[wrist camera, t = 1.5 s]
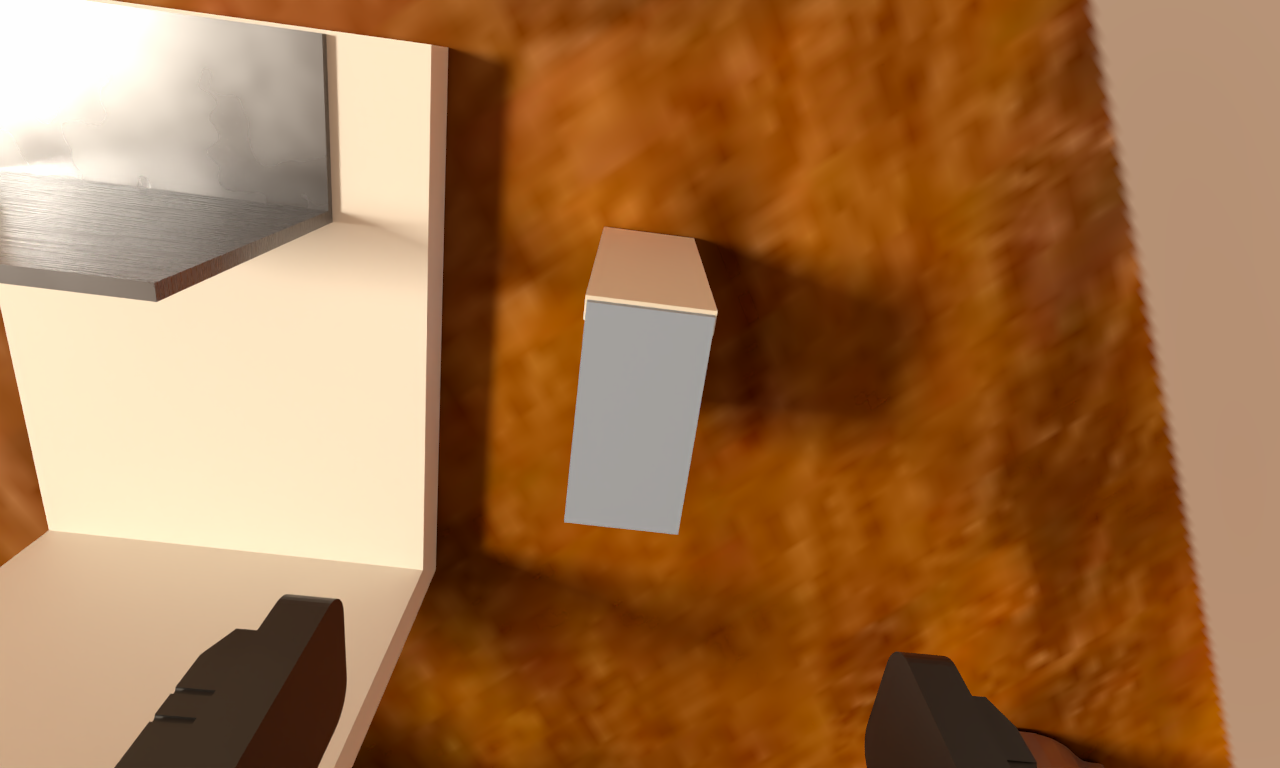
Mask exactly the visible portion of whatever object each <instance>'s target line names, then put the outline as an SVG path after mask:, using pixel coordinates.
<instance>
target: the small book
mask: <svg viewBox="0 0 1280 768" xmlns="http://www.w3.org/2000/svg"><path fill="white" fill-rule="evenodd" d="M717 313H718V311H717V308H716V304H715V301H714V298H713V295H712V292H711V289H710V286H709V283H708V280H707V277H706V274H705V270H704V267H703V264H702V261H701V258H700V255H699V252H698V249H697V246H696V243H695V240H694V238H688V237H680V236H673V235H665V234H657V233H649V232H642V231H634V230H626V229H618V228H611V227H604V229H603V233H602V236H601V240H600V244H599V247H598V251H597V255H596V259H595V262H594V266H593V270H592V273H591V277H590V281H589V284H588V288H587V292H586V297H585V306H584V316H583V320H585V324H584V334H583V343H582V353H581V363H580V373H579V382H578V392H577V402H576V411H575V421H574V431H573V441H572V450H571V460H570V470H569V480H568V489H567V499H566V509H565V518H564V522H568V523H577V524H586V525H595V526H604V527H613V528H622V529H631V530H640V531H649V532H658V533H667V534H677V535H678V531H679V525H680V519H681V514H682V508H683V502H684V496H685V491H686V485H687V479H688V474H689V468H690V462H691V456H692V451H693V445H694V439H695V433H696V428H697V422H698V416H699V410H700V405H701V399H702V393H703V388H704V382H705V376H706V370H707V365H708V359H709V353H710V347H711V342H712V336H713V335H714V330H715V324H716V318H717Z"/></svg>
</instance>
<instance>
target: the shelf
mask: <svg viewBox="0 0 1280 768" xmlns="http://www.w3.org/2000/svg"><path fill="white" fill-rule="evenodd" d="M84 1H91V2H99V3H106V4H113V5H120V6H128V7H135V8H142V9H149V10H157V11H164V12H171V13H178V14H185V15H193V16H200V17H207V18H214V19H222V20H229V21H236V22H243V23H251V24H258V25H265V26H272V27H280V28H287V29H294V30H301V31H309V32H316V33H323V34H326V42H327V72H328V101H329V130H330V159H331V188H332V218H333V222H332V223H330V224H328V225H325V226H323V227H321V228H319V229H317V230H314V231H312V232H310V233H308V234H306V235H303V236H301V237H299V238H297V239H295V240H292V241H290V242H288V243H286V244H284V245H281V246H279V247H277V248H275V249H273V250H270V251H268V252H266V253H264V254H262V255H259V256H257V257H255V258H253V259H251V260H248V261H246V262H244V263H242V264H240V265H237V266H235V267H233V268H231V269H229V270H226V271H224V272H222V273H220V274H218V275H215V276H213V277H211V278H209V279H207V280H204V281H202V282H200V283H198V284H195V285H193V286H191V287H189V288H187V289H184V290H182V291H180V292H178V293H176V294H173V295H171V296H169V297H167V298H165V299H162V300H160V301H158V302H152V301H143V300H135V299H127V298H119V297H110V296H102V295H94V294H85V293H77V292H69V291H61V290H52V289H44V288H36V287H27V286H19V285H11V284H3V283H0V306H1V311H2V316H3V320H4V325H5V330H6V334H7V339H8V343H9V348H10V353H11V357H12V362H13V366H14V371H15V376H16V380H17V385H18V389H19V394H20V399H21V403H22V408H23V412H24V417H25V422H26V426H27V431H28V435H29V440H30V445H31V449H32V454H33V458H34V463H35V468H36V472H37V477H38V481H39V486H40V491H41V495H42V500H43V504H44V509H45V514H46V518H47V523H48V527H49V531H47V532H46V533H45V534H44V535H42V536H41V537H40V538H38V539H37V540H36V541H34V542H33V543H32V544H30V545H29V546H28V547H26V548H25V549H24V550H22V551H21V552H20V553H18V554H17V555H16V556H14V557H13V558H12V559H10V560H9V561H8V562H6V563H5V564H4V565H2V566H1V567H0V768H114V767H115V766H116V765H117V763H118V762H119V761H120V759H121V758H122V757H123V755H124V754H125V753H126V751H127V750H128V749H129V748H130V746H131V745H132V744H133V742H134V741H135V740H136V738H137V737H138V736H139V734H140V733H141V732H142V730H143V729H144V728H145V726H146V725H147V724H148V723H149V722H152V721H153V720H154V717H155V713H156V712H157V711H158V709H159V708H160V707H161V705H162V704H163V703H164V701H165V700H166V699H167V698H168V696H169V695H170V694H174V692H175V688H176V686H177V684H178V683H179V682H180V680H181V679H182V678H183V676H184V675H185V674H186V673H187V671H188V670H189V669H190V667H191V666H192V665H193V663H194V662H195V661H196V659H197V658H198V657H199V655H200V654H202V653H203V652H204V651H206V650H207V649H209V648H210V647H211V646H213V645H214V644H216V643H217V642H218V641H220V640H221V639H223V638H224V637H225V636H227V635H228V634H229V633H231V632H232V631H234V630H235V629H236V628H237V629H248V630H258V628H259V627H260V625H261V624H262V623H263V621H264V620H265V618H266V617H267V615H268V614H269V612H270V611H271V610H272V608H273V607H274V605H275V604H276V602H277V601H278V600H279V599H280V598H281V597H282V596H283V595H285V594H293V595H304V596H315V597H325V598H336V599H340V600H341V601H342V604H343V608H344V626H345V648H346V669H347V687H346V695H345V701H344V705H343V709H342V713H341V716H340V719H339V722H338V725H337V727H336V729H335V732H334V734H333V736H332V738H331V740H330V742H329V744H328V747H327V749H326V751H325V753H324V755H323V757H322V760H321V762H320V764H319V766H318V768H352V766H353V764H354V761H355V759H356V757H357V754H358V752H359V750H360V747H361V745H362V743H363V740H364V738H365V736H366V733H367V731H368V728H369V726H370V724H371V721H372V719H373V717H374V714H375V712H376V710H377V707H378V705H379V703H380V700H381V698H382V695H383V693H384V691H385V688H386V686H387V684H388V681H389V679H390V677H391V674H392V672H393V670H394V667H395V665H396V663H397V660H398V658H399V655H400V653H401V651H402V648H403V646H404V644H405V641H406V639H407V637H408V634H409V632H410V630H411V627H412V625H413V622H414V620H415V618H416V615H417V613H418V611H419V608H420V606H421V604H422V601H423V599H424V597H425V594H426V592H427V589H428V587H429V585H430V582H431V580H432V578H433V575H434V573H435V571H436V544H437V502H438V460H439V419H440V377H441V335H442V294H443V252H444V210H445V169H446V127H447V85H448V47H442V46H436V45H430V44H423V43H415V42H408V41H401V40H394V39H386V38H379V37H372V36H365V35H358V34H350V33H343V32H336V31H329V30H321V29H314V28H307V27H300V26H292V25H285V24H278V23H271V22H264V21H256V20H249V19H242V18H235V17H227V16H220V15H213V14H206V13H199V12H191V11H184V10H177V9H170V8H162V7H155V6H148V5H141V4H133V3H126V2H119V1H112V0H84Z"/></svg>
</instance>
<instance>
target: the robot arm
mask: <svg viewBox="0 0 1280 768" xmlns="http://www.w3.org/2000/svg"><path fill="white" fill-rule="evenodd" d="M346 687H347V669H346V648H345V626H344V608H343V604H342V601H341V600H340V599H336V598H325V597H315V596H304V595H293V594H285V595H283V596H282V597H281V598H280V599H279V600H278V601H277V602H276V604H275V605H274V607H273V608H272V610H271V611H270V612H269V614H268V615H267V617H266V618H265V620H264V621H263V623H262V624H261V625H260V627H259V628H258V630H248V629H237V628H236V629H235V630H234V631H232V632H231V633H229V634H228V635H227V636H225V637H224V638H223V639H221V640H220V641H218V642H217V643H216V644H214V645H213V646H211V647H210V648H209V649H207V650H206V651H204V652H203V653H202V654H200V655H199V657H198V658H197V659H196V661H195V662H194V663H193V665H192V666H191V667H190V669H189V670H188V671H187V673H186V674H185V675H184V676H183V678H182V679H181V680H180V682H179V683H178V684H177V686H176V688H175V692H174V694H170V695H169V696H168V698H167V699H166V700H165V701H164V703H163V704H162V705H161V707H160V708H159V709H158V711H157V712H156V713H155V717H154V720H153V721H152V722H149V723H148V724H147V725H146V726H145V728H144V729H143V730H142V732H141V733H140V734H139V736H138V737H137V738H136V740H135V741H134V742H133V744H132V745H131V746H130V748H129V749H128V750H127V751H126V753H125V754H124V755H123V757H122V758H121V759H120V761H119V762H118V763H117V765H116V766H115V767H114V768H318V766H319V764H320V762H321V760H322V757H323V755H324V753H325V751H326V749H327V747H328V744H329V742H330V740H331V738H332V736H333V734H334V732H335V729H336V727H337V725H338V722H339V719H340V716H341V713H342V709H343V705H344V701H345V695H346ZM865 758H866V765H867V768H1105V767H1104V766H1103V765H1102V764H1100V763H1091V762H1086V761H1082V760H1081V759H1080V758H1078V757H1077V756H1076V755H1075V754H1074V753H1073V752H1072V751H1071V750H1070V749H1068V748H1067V747H1066V746H1064V745H1063V744H1061V743H1059V742H1057V741H1055V740H1053V739H1051V738H1049V737H1045V736H1042V735H1038V734H1035V733H1030V732H1021V731H1018V729H1017V728H1016V727H1015V726H1014V725H1013V724H1012V723H1011V722H1010V721H1009V720H1008V719H1007V718H1006V717H1005V716H1004V715H1003V714H1002V713H1001V712H1000V711H999V710H998V709H997V708H996V707H995V706H994V705H993V704H992V703H991V702H990V701H989V700H988V699H987V698H986V697H977V696H972V695H971V694H970V692H969V690H968V688H967V686H966V684H965V683H964V681H963V679H962V677H961V675H960V673H959V672H958V670H957V668H956V666H955V665H954V663H953V662H952V661H951V659H949V658H948V657H946V656H938V655H927V654H916V653H905V652H894V653H893V654H892V655H891V656H890V658H889V660H888V662H887V665H886V668H885V671H884V674H883V677H882V681H881V684H880V687H879V690H878V693H877V696H876V699H875V702H874V705H873V709H872V712H871V715H870V718H869V721H868V724H867V728H866V734H865Z"/></svg>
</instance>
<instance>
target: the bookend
mask: <svg viewBox="0 0 1280 768" xmlns="http://www.w3.org/2000/svg"><path fill="white" fill-rule="evenodd" d="M332 222H333V218H332V188H331V159H330V130H329V101H328V72H327V42H326V34H323V33H316V32H309V31H301V30H294V29H287V28H280V27H272V26H265V25H258V24H251V23H243V22H236V21H229V20H222V19H214V18H207V17H200V16H193V15H185V14H178V13H171V12H164V11H157V10H149V9H142V8H135V7H128V6H120V5H113V4H106V3H99V2H91V1H84V0H0V283H3V284H11V285H19V286H27V287H36V288H44V289H52V290H61V291H69V292H77V293H85V294H94V295H102V296H110V297H119V298H127V299H135V300H143V301H152V302H158V301H160V300H162V299H165V298H167V297H169V296H171V295H173V294H176V293H178V292H180V291H182V290H184V289H187V288H189V287H191V286H193V285H195V284H198V283H200V282H202V281H204V280H207V279H209V278H211V277H213V276H215V275H218V274H220V273H222V272H224V271H226V270H229V269H231V268H233V267H235V266H237V265H240V264H242V263H244V262H246V261H248V260H251V259H253V258H255V257H257V256H259V255H262V254H264V253H266V252H268V251H270V250H273V249H275V248H277V247H279V246H281V245H284V244H286V243H288V242H290V241H292V240H295V239H297V238H299V237H301V236H303V235H306V234H308V233H310V232H312V231H314V230H317V229H319V228H321V227H323V226H325V225H328V224H330V223H332Z"/></svg>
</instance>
